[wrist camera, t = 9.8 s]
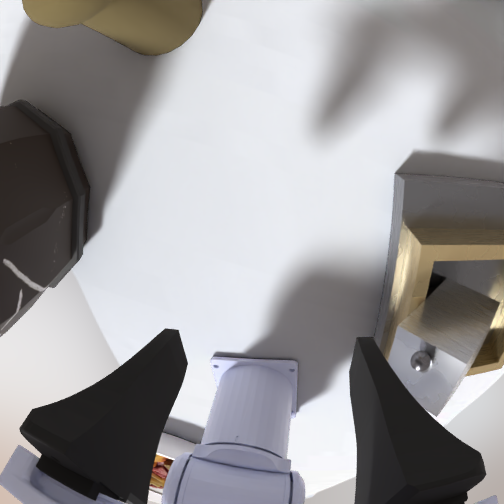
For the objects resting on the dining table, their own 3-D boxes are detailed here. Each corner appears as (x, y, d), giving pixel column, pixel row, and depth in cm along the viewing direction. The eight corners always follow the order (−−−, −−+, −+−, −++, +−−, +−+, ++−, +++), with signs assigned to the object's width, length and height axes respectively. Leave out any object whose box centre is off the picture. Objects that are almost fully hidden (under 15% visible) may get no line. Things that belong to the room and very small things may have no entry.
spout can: (478, 353, 16) (423, 433, 12) (432, 328, 20) (367, 393, 16) (500, 301, 14) (455, 381, 10) (447, 276, 18) (382, 337, 14)
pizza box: (240, 432, 33) (229, 483, 26) (264, 494, 46) (259, 525, 39) (70, 398, 39) (49, 430, 32) (138, 471, 52) (127, 497, 45)
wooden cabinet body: (477, 357, 23) (492, 388, 19) (365, 371, 25) (371, 409, 21) (529, 186, 15) (563, 205, 11) (394, 173, 17) (419, 191, 13)
